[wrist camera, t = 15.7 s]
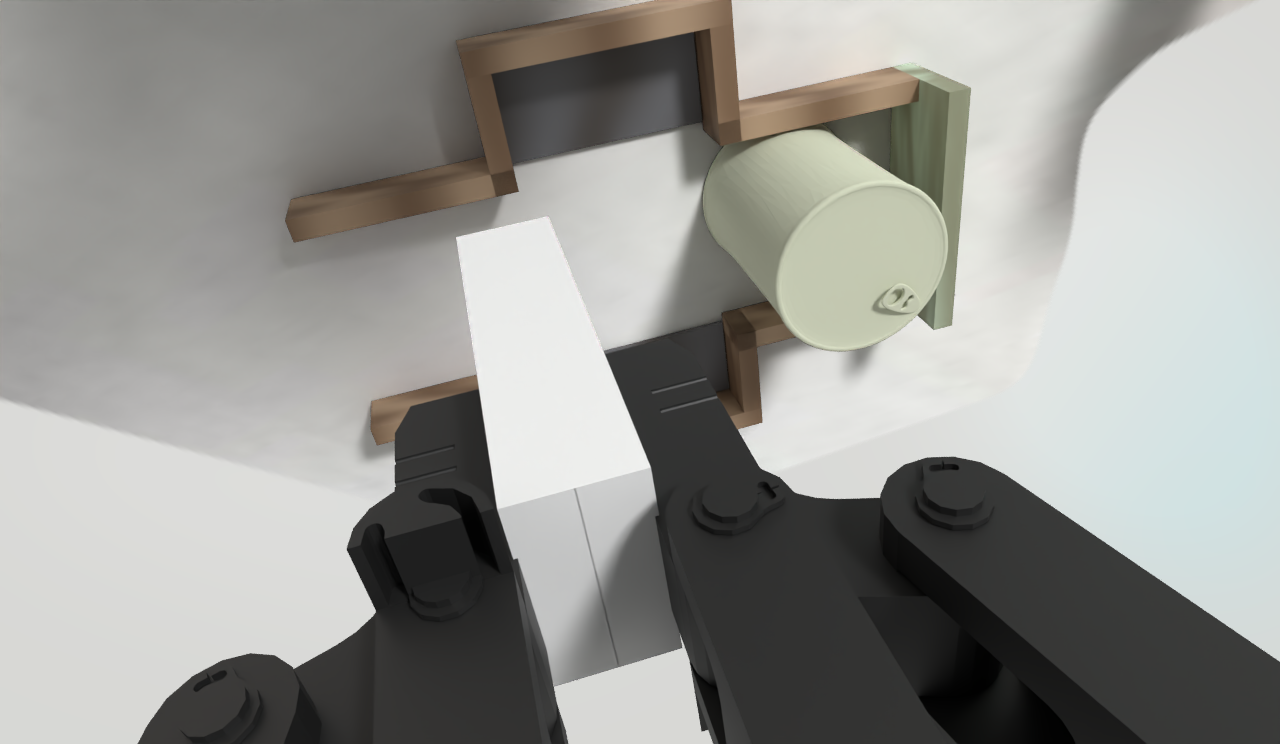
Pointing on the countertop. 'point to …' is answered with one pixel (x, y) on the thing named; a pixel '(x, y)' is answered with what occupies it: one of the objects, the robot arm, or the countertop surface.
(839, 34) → the countertop surface
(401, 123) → the countertop surface
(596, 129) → the channel
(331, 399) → the countertop surface
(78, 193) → the countertop surface
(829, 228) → the can
